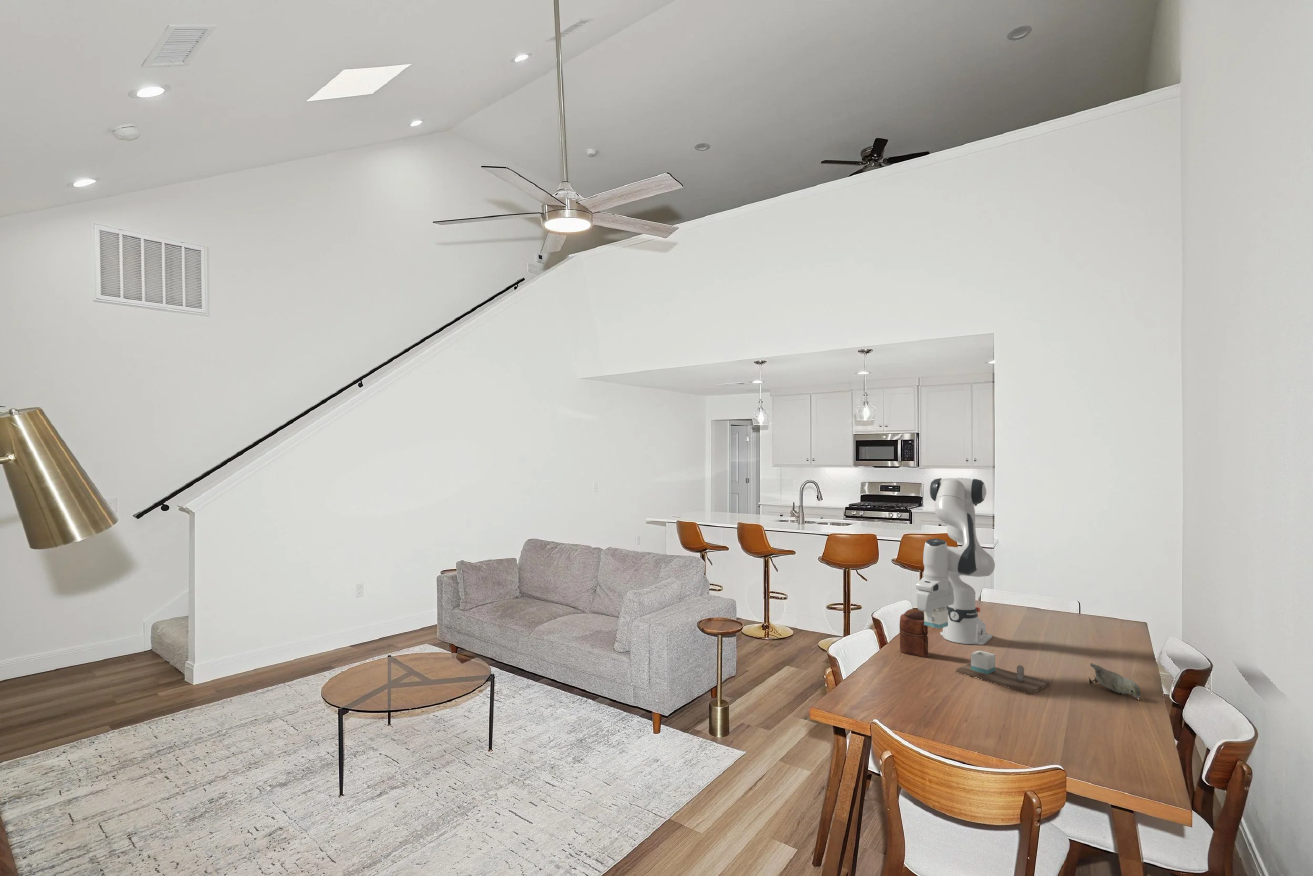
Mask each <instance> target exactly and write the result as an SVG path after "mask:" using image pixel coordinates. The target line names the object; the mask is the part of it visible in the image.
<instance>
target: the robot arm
mask: <svg viewBox="0 0 1313 876" xmlns="http://www.w3.org/2000/svg"><path fill="white" fill-rule="evenodd" d="M928 489H929V490H928V491H929V495H930V498H931V499H932V500H933V501H934V513H935V516H936V518H937V519H939V521H941V523H944V524H945V525H947V526H946V527H947V529H946V531H947V533H946V534H947V536H948V537H949V538H950V539H951V540H953V541H954V542H957V543H958V544H959V545H961V547H958V546H957V547H956V546H948V545H947V541H946V540H945V539H941V538H930V539H927V540H926V541H925V543H924V547H923V553H922V563H923V567H924V569H923V574H922V577H921V578H920V580H919V581H918V582H917V583H916V584H915V588H916V590H917V591H916V608H917V610H919V611H922V612H923V613H924V612H926V615H927V620H928V621H929V622H933V621H934V617H933V616H932V613H933V610H935V609H939V608H941V609H946V610H948V626H947V627H943V628H942V631H940V632H939V634H940V635H941V636H942V638H944V639H945V640H947V641H948V642H949V641H950V642H953V643H957V644H965V645H979V646H981V645H982V646H983V645H985V644H986V643H988V642H989V641H990V640H991V639H992V638H993V635H992V634H990V633H988V632H987V628H986V627H987V625H986V623H985V622H984V621H983V620H982V619H981V618H980V617H979V615H978V613H980V612H981V607H978V606H976V590H975V589H974V587H972V586H971V585H970V584H968V583H966V582H965V581H963V580H962V579H961V578H960V577H961V576H965V577H975V578H977V577H978V578H979V577H981V578H982V577H990V576H991V575H992V574H993V573H994V571H995V568H996V562H995V560H994V558H993V556H992V555H991V554H990V553H988V551H986V550H985V549H984V548H983V547H982V546H981V544H980V543H979V541H978V538H977V532H976V531H977V530H976V509H975V507H977V506H978V505H980V504H981V503H983V501H985V498H986V496H987V488H986V485H985V483H984V481H982V480H981V479H978V478H964V477H950V478H948V477H947V478H941V477H939V478H935V479H933V480H931V483H930V485H929V488H928Z"/></svg>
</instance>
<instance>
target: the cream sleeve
mask: <svg viewBox="0 0 1313 876" xmlns="http://www.w3.org/2000/svg"><path fill="white" fill-rule="evenodd" d="M923 613H924V625H926V626H928V627H929V628H930V627H932V628H934V629H938V630H940V629H943V627H947V626H948V610H946V609H941V608H939V609H935V610H933V613H932V616H933V617H934V621H933V622H929V621H928V620H927V615H926V612H924V611H923Z"/></svg>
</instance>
